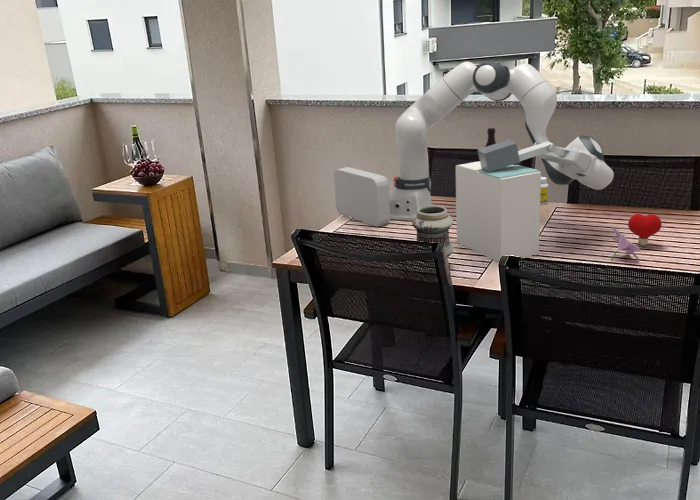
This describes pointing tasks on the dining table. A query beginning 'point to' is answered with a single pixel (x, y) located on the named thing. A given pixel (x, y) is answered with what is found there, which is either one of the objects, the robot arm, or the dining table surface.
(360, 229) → the dining table surface
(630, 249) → the lily
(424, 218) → the apothecary jar
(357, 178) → the rounded white slab
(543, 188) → the supplement bottle
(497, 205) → the stand
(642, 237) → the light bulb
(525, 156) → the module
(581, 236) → the dining table surface
